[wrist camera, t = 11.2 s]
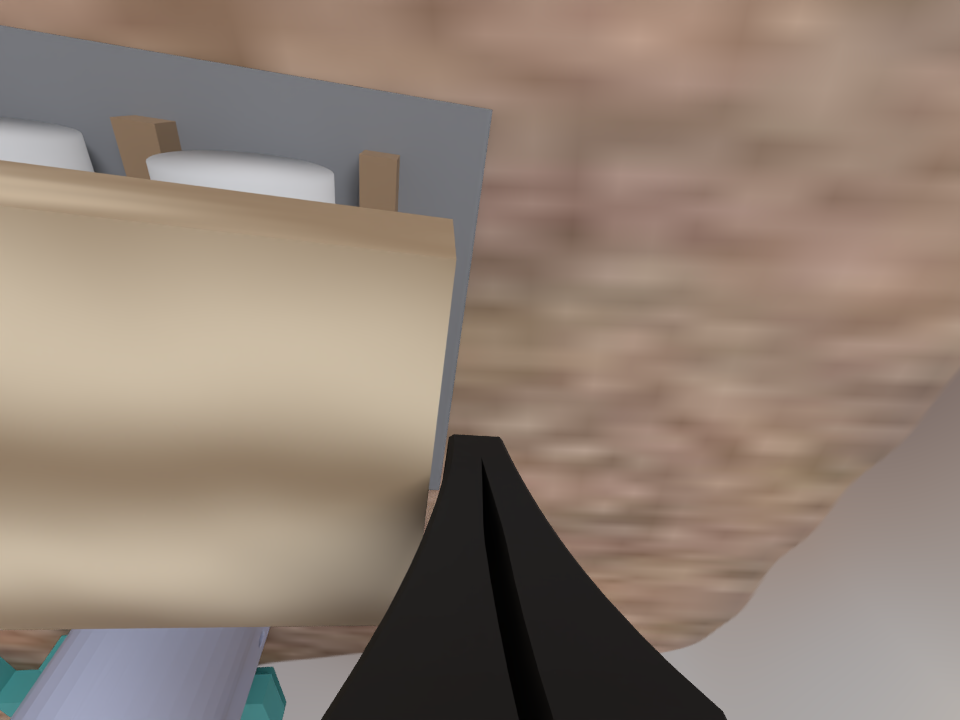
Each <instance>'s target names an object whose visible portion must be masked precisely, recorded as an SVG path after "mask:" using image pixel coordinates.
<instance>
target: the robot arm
mask: <svg viewBox="0 0 960 720" xmlns="http://www.w3.org/2000/svg"><path fill="white" fill-rule="evenodd" d="M269 628H270V627H215V628H131V629H72V630H71V631H70V632H69V634H68V635H67V637H66V638H65V640H64V641H63V643H62V644H61V646H60V647H59V649H58V650H57V651H56V653H55V654H54V656H53V657H52V659H51V660H50V662H49V663H48V665H47V666H46V667H45V669H44V670H43V672H42V673H41V675H40V676H39V678H38V679H37V681H36V682H35V684H34V685H33V686H32V688H31V689H30V691H29V692H28V694H27V695H26V697H25V698H24V700H23V701H22V702H21V704H20V705H19V707H18V708H17V710H16V711H15V713H14V714H13V716H12V717H11V719H10V720H240V719H241V716H242V713H243V710H244V707H245V704H246V700H247V697H248V694H249V691H250V688H251V685H252V682H253V679H254V675H255V672H256V669H257V666H258V663H259V660H260V657H261V653H262V650H263V647H264V644H265V641H266V638H267V635H268V632H269ZM321 720H727V719H726V717H725V715H724V713H723V711H722V710H721V709H720V708H718V707H717V706H716V705H715V704H714V703H713V702H712V701H711V700H709V699H708V698H707V697H706V696H705V695H704V694H703V693H702V692H701V691H700V690H698V689H697V688H696V687H695V686H694V685H693V684H692V683H691V682H690V681H688V680H687V679H686V678H685V677H684V676H683V675H682V674H681V673H679V672H678V671H677V670H676V669H675V668H674V667H673V666H672V665H671V664H670V663H669V662H668V661H667V660H666V659H665V658H664V657H663V656H662V655H661V654H660V653H659V652H658V651H657V650H656V649H655V648H654V647H653V646H652V645H651V644H650V643H649V642H648V641H647V640H646V639H645V638H644V637H643V636H642V635H641V634H640V633H639V632H638V631H637V630H636V629H635V628H634V627H633V626H632V625H631V624H630V622H629V621H628V620H627V619H626V618H625V617H624V616H623V615H622V614H621V613H620V612H619V611H618V609H617V608H616V607H615V606H614V605H613V604H612V603H611V602H610V601H609V600H608V599H607V598H606V596H605V595H604V594H603V593H602V592H601V591H600V589H599V588H598V587H597V586H596V585H595V583H594V582H593V581H592V580H591V579H590V577H589V576H588V575H587V574H586V573H585V571H584V570H583V569H582V568H581V566H580V565H579V564H578V562H577V561H576V560H575V559H574V557H573V556H572V555H571V553H570V552H569V551H568V549H567V548H566V547H565V545H564V544H563V542H562V541H561V540H560V538H559V537H558V535H557V534H556V533H555V531H554V530H553V528H552V527H551V525H550V524H549V522H548V521H547V519H546V518H545V516H544V515H543V513H542V512H541V510H540V508H539V507H538V505H537V504H536V502H535V500H534V499H533V497H532V495H531V494H530V492H529V490H528V489H527V487H526V485H525V483H524V482H523V480H522V478H521V476H520V475H519V473H518V471H517V469H516V467H515V465H514V463H513V461H512V460H511V458H510V456H509V454H508V451H507V449H506V447H505V445H504V443H503V441H502V440H501V438H500V437H491V436H473V435H455V434H454V435H452V436H450V437H449V440H448V447H447V454H446V461H445V467H444V474H443V481H442V485H441V488H440V491H439V495H438V498H437V501H436V504H435V507H434V509H433V512H432V514H431V517H430V520H429V522H428V525H427V528H426V530H425V533H424V535H423V538H422V540H421V542H420V545H419V547H418V549H417V551H416V554H415V556H414V558H413V560H412V562H411V564H410V567H409V569H408V571H407V573H406V575H405V577H404V579H403V581H402V583H401V585H400V587H399V589H398V591H397V593H396V595H395V597H394V599H393V600H392V602H391V604H390V606H389V608H388V610H387V612H386V614H385V615H384V617H383V619H382V621H381V622H380V624H379V626H378V628H377V629H376V631H375V633H374V635H373V636H372V638H371V640H370V641H369V643H368V645H367V647H366V648H365V650H364V652H363V654H362V655H361V657H360V659H359V661H358V662H357V664H356V665H355V667H354V669H353V670H352V672H351V674H350V675H349V677H348V678H347V680H346V681H345V683H344V684H343V686H342V688H341V689H340V691H339V692H338V694H337V695H336V697H335V699H334V700H333V702H332V703H331V705H330V707H329V708H328V710H327V711H326V713H325V714H324V716H323V717H322V719H321Z"/></svg>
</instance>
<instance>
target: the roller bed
mask: <svg viewBox="0 0 960 720" xmlns="http://www.w3.org/2000/svg"><path fill="white" fill-rule="evenodd" d="M491 117H492V110H490V109H485V108H479V107H473V106H467V105H461V104H455V103H450V102H444V101H438V100H432V99H426V98H420V97H415V96H409V95H403V94H397V93H391V92H386V91H380V90H374V89H368V88H362V87H356V86H351V85H345V84H339V83H333V82H327V81H322V80H316V79H310V78H304V77H298V76H292V75H287V74H281V73H275V72H269V71H263V70H257V69H252V68H246V67H240V66H234V65H228V64H223V63H217V62H211V61H205V60H199V59H193V58H188V57H182V56H176V55H170V54H164V53H159V52H153V51H147V50H141V49H135V48H129V47H124V46H118V45H112V44H106V43H100V42H94V41H89V40H83V39H77V38H71V37H65V36H60V35H54V34H48V33H42V32H36V31H30V30H25V29H19V28H13V27H7V26H1V25H0V160H4V161H12V162H19V163H27V164H35V165H42V166H50V167H58V168H65V169H73V170H81V171H88V172H96V173H104V174H111V175H119V176H126V177H134V178H142V179H149V180H157V181H165V182H172V183H180V184H188V185H195V186H203V187H211V188H218V189H226V190H233V191H241V192H249V193H256V194H264V195H272V196H279V197H287V198H295V199H302V200H310V201H318V202H325V203H333V204H340V205H348V206H356V207H363V208H371V209H379V210H386V211H394V212H402V213H409V214H417V215H424V216H432V217H440V218H447V219H453V226H454V237H455V249H456V267H455V276H454V284H453V292H452V300H451V309H450V317H449V325H448V334H447V342H446V350H445V358H444V367H443V375H442V383H441V392H440V400H439V408H438V416H437V425H436V433H435V441H434V450H433V458H432V466H431V474H430V483H429V490H439V486H440V479H441V472H442V465H443V458H444V451H445V444H446V437H447V430H448V422H449V415H450V408H451V401H452V394H453V387H454V380H455V373H456V366H457V358H458V351H459V344H460V337H461V330H462V323H463V316H464V309H465V302H466V294H467V287H468V280H469V273H470V266H471V259H472V252H473V245H474V238H475V230H476V223H477V216H478V209H479V202H480V195H481V188H482V181H483V174H484V166H485V159H486V152H487V145H488V138H489V131H490V124H491Z"/></svg>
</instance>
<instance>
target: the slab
mask: <svg viewBox="0 0 960 720" xmlns="http://www.w3.org/2000/svg"><path fill="white" fill-rule="evenodd" d="M455 267H456V249H455V237H454V226H453V219H447V218H440V217H432V216H424V215H417V214H409V213H402V212H394V211H386V210H379V209H371V208H363V207H356V206H348V205H340V204H333V203H325V202H318V201H310V200H302V199H295V198H287V197H279V196H272V195H264V194H256V193H249V192H241V191H233V190H226V189H218V188H211V187H203V186H195V185H188V184H180V183H172V182H165V181H157V180H149V179H142V178H134V177H126V176H119V175H111V174H104V173H96V172H88V171H81V170H73V169H65V168H58V167H50V166H42V165H35V164H27V163H19V162H12V161H4V160H0V630H47V629H131V628H215V627H298V626H379V624H380V622H381V621H382V619H383V617H384V615H385V614H386V612H387V610H388V608H389V606H390V604H391V602H392V600H393V599H394V597H395V595H396V593H397V591H398V589H399V587H400V585H401V583H402V581H403V579H404V577H405V575H406V573H407V571H408V569H409V567H410V564H411V562H412V560H413V558H414V556H415V554H416V551H417V549H418V547H419V545H420V542H421V540H422V538H423V532H424V524H425V516H426V508H427V499H428V491H429V483H430V474H431V466H432V458H433V450H434V441H435V433H436V425H437V416H438V408H439V400H440V392H441V383H442V375H443V367H444V358H445V350H446V342H447V334H448V325H449V317H450V309H451V300H452V292H453V284H454V276H455Z"/></svg>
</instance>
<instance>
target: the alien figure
mask: <svg viewBox="0 0 960 720" xmlns="http://www.w3.org/2000/svg"><path fill="white" fill-rule="evenodd" d="M66 637H67V635H65V636H61V638H60V639H59V641H58V642H57V643H56V645H55V646H54V648H53V649H52V651H51V652H50V654H49V655H48V656H47V658H46V659H45V661H44V662H43V664H42V665H41V666H40V668H39V670H19V671H16V670H15V669H14V668H13V667H12V666H10V665H9V664H8V663H7V662H6V661H5V660H4V659H2V658H1V657H0V710H1V711H2V712H4V713H5V714H6V715H8V716H9V717H12V716H13V714H14V713H15V711H16V710H17V708H18V707H19V705H20V704H21V702H22V701H23V700H24V698H25V697H26V695H27V694H28V692H29V691H30V689H31V688H32V686H33V685H34V684H35V682H36V681H37V679H38V678H39V676H40V675H41V673H42V672H43V670H44V669H45V667H46V666H47V665H48V663H49V662H50V660H51V659H52V657H53V656H54V654H55V653H56V651H57V650H58V649H59V647H60V646H61V644H62V643H63V641H64V640H65V638H66ZM285 706H286V699H285V696H284V694H283V691H282V688H281V686H280V683H279V681H278V678H277V675H276V672H275V670H274V667H257V669H256V672H255V675H254V679H253V682H252V685H251V688H250V691H249V694H248V697H247V700H246V704H245V707H244V710H243V713H242V716H241V719H240V720H282V718H283V714H284V710H285Z"/></svg>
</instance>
